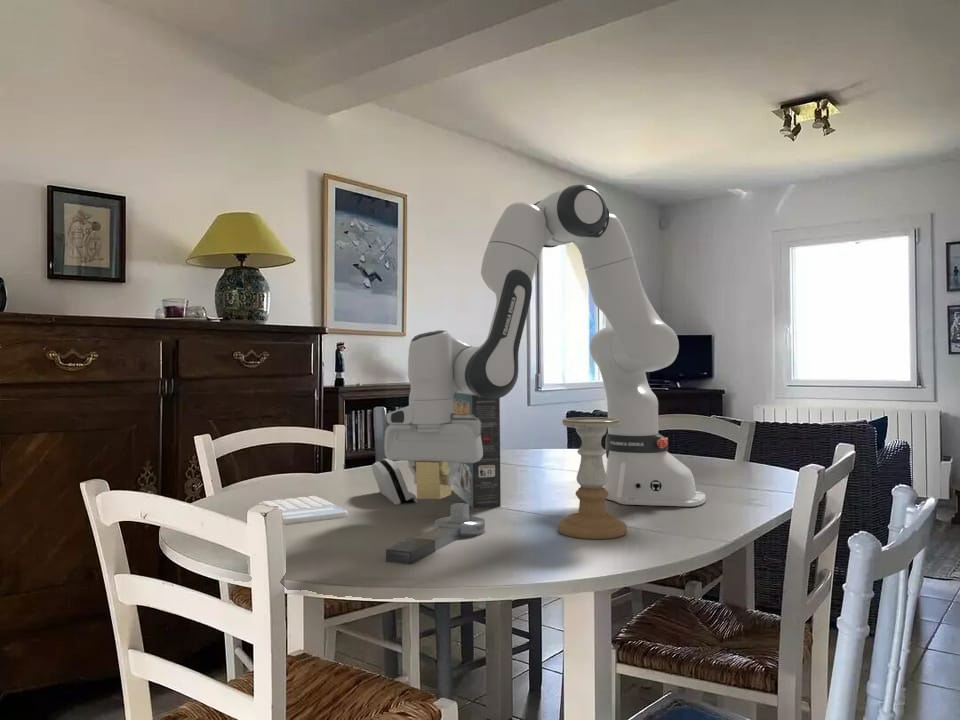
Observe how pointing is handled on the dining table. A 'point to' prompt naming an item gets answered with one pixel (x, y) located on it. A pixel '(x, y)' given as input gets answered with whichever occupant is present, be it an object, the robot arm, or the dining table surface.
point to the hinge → (391, 481)
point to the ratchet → (437, 536)
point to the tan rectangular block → (432, 479)
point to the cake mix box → (483, 477)
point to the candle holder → (592, 484)
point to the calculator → (307, 509)
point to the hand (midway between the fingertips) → (434, 484)
